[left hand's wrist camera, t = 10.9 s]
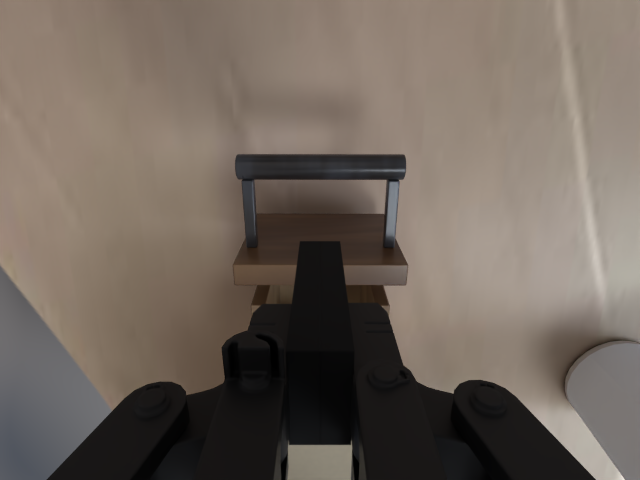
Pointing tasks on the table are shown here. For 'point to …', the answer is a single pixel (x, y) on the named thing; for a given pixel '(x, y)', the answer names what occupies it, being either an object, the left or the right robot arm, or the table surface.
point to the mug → (610, 400)
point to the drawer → (320, 227)
